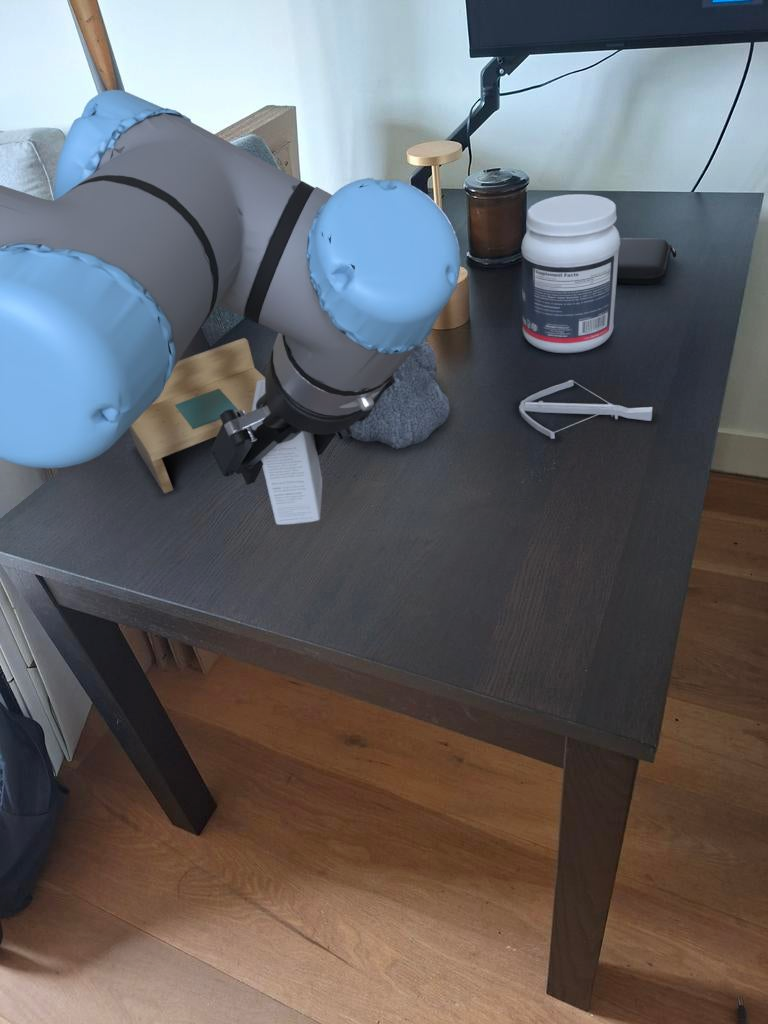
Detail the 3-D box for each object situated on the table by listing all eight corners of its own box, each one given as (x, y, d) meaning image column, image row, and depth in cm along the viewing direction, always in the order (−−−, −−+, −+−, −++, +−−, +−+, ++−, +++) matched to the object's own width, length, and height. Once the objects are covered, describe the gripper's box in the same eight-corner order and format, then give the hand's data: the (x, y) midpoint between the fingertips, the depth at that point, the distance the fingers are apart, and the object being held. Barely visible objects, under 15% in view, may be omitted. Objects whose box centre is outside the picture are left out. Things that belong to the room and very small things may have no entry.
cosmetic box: (280, 488, 74) (252, 378, 66) (326, 482, 74) (303, 371, 66) (275, 528, 69) (244, 415, 61) (324, 523, 69) (299, 408, 61)
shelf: (164, 493, 92) (137, 424, 86) (137, 450, 100) (111, 384, 94) (297, 439, 98) (281, 370, 92) (261, 402, 106) (244, 337, 100)
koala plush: (429, 372, 107) (416, 233, 95) (481, 434, 94) (474, 282, 81) (312, 404, 104) (283, 265, 92) (347, 473, 91) (319, 321, 78)
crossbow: (509, 442, 93) (507, 427, 92) (531, 389, 102) (530, 376, 101) (645, 449, 87) (646, 434, 86) (656, 392, 96) (657, 378, 95)
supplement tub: (536, 313, 117) (537, 190, 106) (621, 320, 112) (632, 192, 101) (510, 353, 109) (508, 223, 97) (601, 362, 104) (610, 227, 92)
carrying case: (669, 289, 118) (677, 253, 129) (672, 270, 116) (679, 235, 127) (599, 286, 122) (612, 252, 132) (600, 268, 120) (613, 234, 130)
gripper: (216, 471, 46) (199, 533, 68) (474, 366, 53) (383, 454, 74) (165, 362, 47) (164, 458, 69) (427, 271, 53) (350, 386, 75)
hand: (278, 456), depth 71 cm, fingers closed on cosmetic box, 6 cm apart
